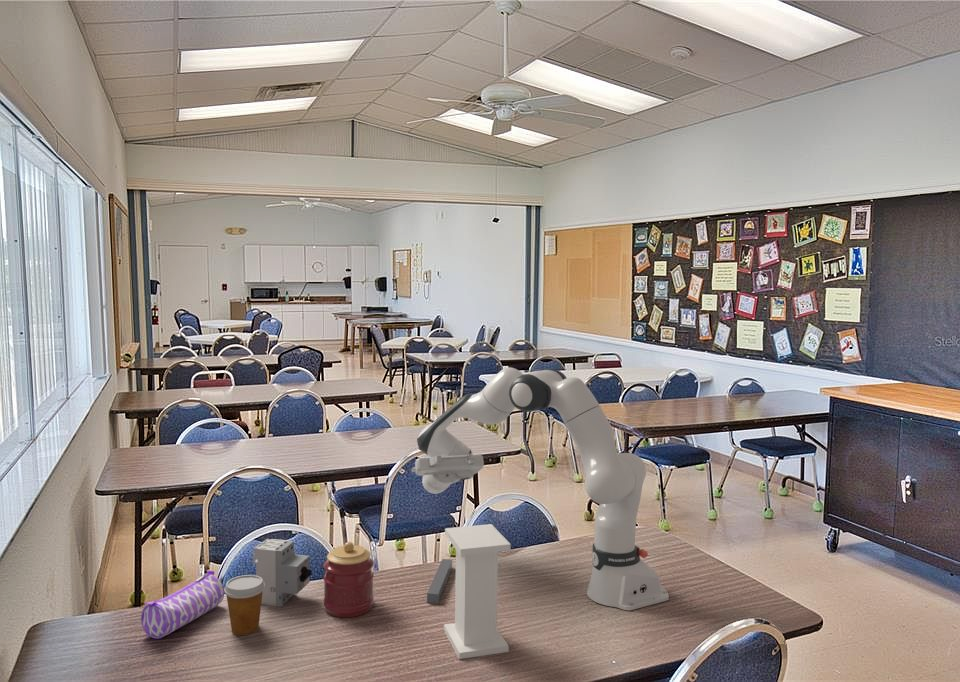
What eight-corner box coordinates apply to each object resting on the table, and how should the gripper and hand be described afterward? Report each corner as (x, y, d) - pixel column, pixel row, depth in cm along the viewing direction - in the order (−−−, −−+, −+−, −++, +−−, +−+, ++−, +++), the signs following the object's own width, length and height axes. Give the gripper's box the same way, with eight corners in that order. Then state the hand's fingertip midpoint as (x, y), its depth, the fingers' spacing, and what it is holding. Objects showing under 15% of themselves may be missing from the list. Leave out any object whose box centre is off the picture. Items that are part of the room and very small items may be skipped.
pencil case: (200, 599, 191) (199, 565, 190) (229, 605, 188) (228, 570, 187) (136, 638, 170) (135, 600, 169) (168, 645, 167) (167, 607, 166)
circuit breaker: (303, 608, 187) (302, 553, 185) (253, 602, 189) (252, 548, 188) (315, 596, 194) (315, 543, 193) (267, 590, 197) (266, 538, 195)
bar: (452, 569, 215) (452, 559, 214) (437, 605, 191) (438, 594, 190) (442, 568, 215) (442, 558, 215) (426, 604, 191) (427, 593, 191)
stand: (489, 623, 180) (491, 524, 178) (508, 651, 167) (510, 544, 164) (443, 630, 176) (445, 528, 174) (459, 659, 163) (460, 549, 161)
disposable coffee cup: (273, 623, 178) (272, 577, 177) (249, 641, 169) (248, 593, 168) (241, 617, 181) (240, 571, 180) (216, 634, 172) (215, 586, 171)
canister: (328, 622, 180) (327, 554, 178) (320, 600, 192) (319, 536, 190) (378, 614, 184) (378, 548, 183) (367, 593, 196) (367, 531, 195)
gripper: (409, 461, 212) (418, 448, 200) (474, 457, 218) (487, 444, 206) (411, 482, 210) (420, 470, 198) (477, 478, 216) (490, 465, 204)
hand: (455, 457), depth 202 cm, fingers open, 8 cm apart
